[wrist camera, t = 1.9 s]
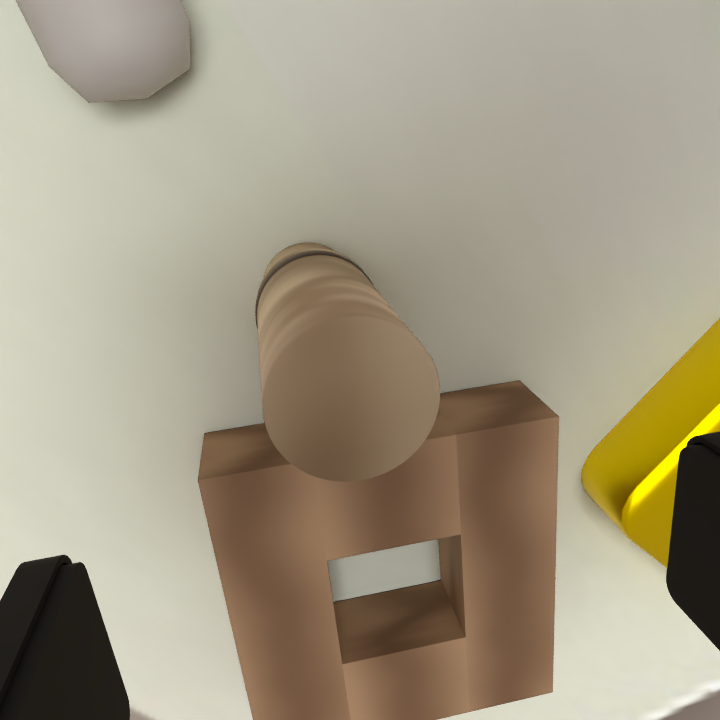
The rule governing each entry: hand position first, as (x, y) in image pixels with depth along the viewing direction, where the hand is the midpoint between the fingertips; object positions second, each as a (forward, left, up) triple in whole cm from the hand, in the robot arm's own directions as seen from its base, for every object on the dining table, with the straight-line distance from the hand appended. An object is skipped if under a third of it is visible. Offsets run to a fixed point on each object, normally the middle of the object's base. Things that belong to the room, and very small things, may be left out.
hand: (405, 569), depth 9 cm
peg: (0, 0, -18) cm, 18 cm away
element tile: (-23, +12, -19) cm, 32 cm away
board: (-2, +14, -18) cm, 23 cm away
